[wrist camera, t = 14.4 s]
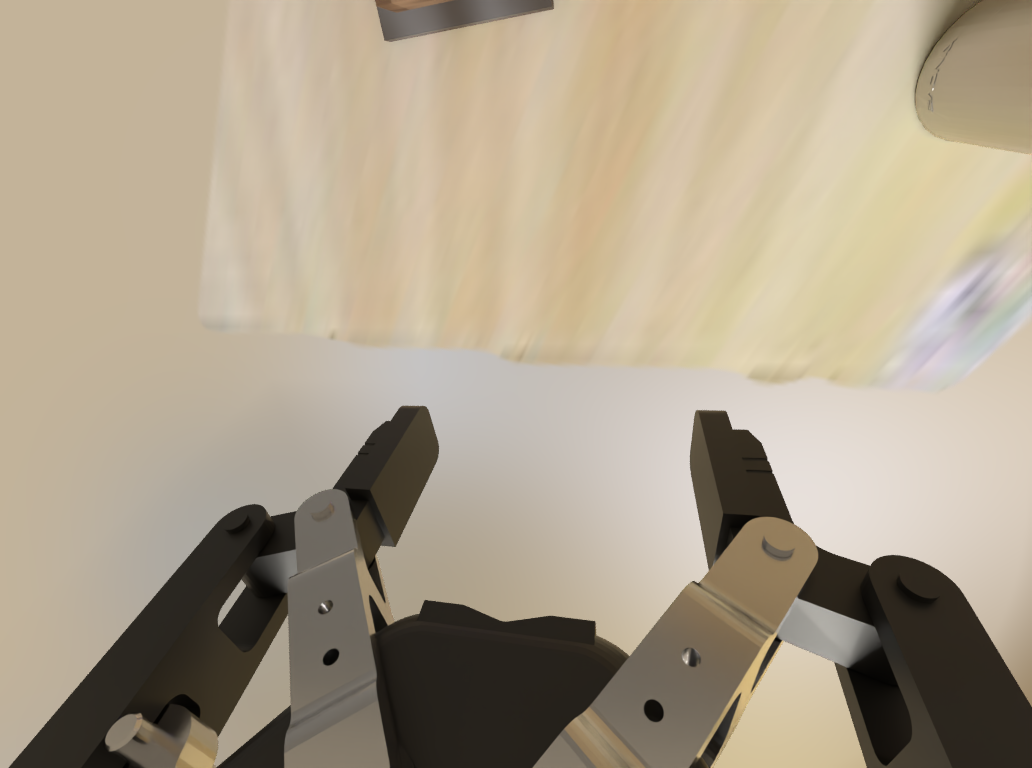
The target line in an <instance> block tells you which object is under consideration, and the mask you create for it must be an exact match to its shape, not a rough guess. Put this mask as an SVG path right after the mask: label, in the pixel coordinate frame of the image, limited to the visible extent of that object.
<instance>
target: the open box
mask: <svg viewBox="0 0 1032 768" xmlns="http://www.w3.org/2000/svg"><path fill="white" fill-rule="evenodd" d="M375 1H376V5H377V10H378V14H379V18H380V23H381V27H382V31H383V36H384V40H385V41H389V42H392V41H397V40H402V39H407V38H412V37H417V36H422V35H427V34H432V33H437V32H442V31H447V30H452V29H457V28H462V27H467V26H472V25H477V24H482V23H486V22H491V21H496V20H501V19H506V18H511V17H516V16H521V15H526V14H531V13H536V12H541V11H546V10H551V9H554V8H553V0H375Z"/></svg>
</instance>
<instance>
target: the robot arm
mask: <svg viewBox="0 0 1032 768" xmlns="http://www.w3.org/2000/svg"><path fill="white" fill-rule="evenodd" d="M915 98H916V111H917V114H918V117H919V120H920V122H921V123H922V124H923V126H924V127H925V129H926V130H928V131H929V132H930V133H932V134H933V135H934V136H936V137H939V138H942V139H945V140H948V141H954V142H960V143H966V144H972V145H978V146H982V147H988V148H994V149H1000V150H1006V151H1012V152H1018V153H1024V154H1030V155H1032V0H982V1H981V2H979V3H978V4H977V5H975V6H974V7H973V8H971V9H970V10H969V11H967V12H966V13H964V14H963V15H962V16H961V17H960V18H959V19H958V20H957V21H956V22H955V23H954V24H953V25H952V26H951V27H950V28H949V29H948V30H947V31H946V33H945V34H944V35H943V36H942V38H941V39H940V40H939V41H938V42H937V44H936V45H935V47H934V48H933V50H932V52H931V53H930V55H929V57H928V58H927V60H926V62H925V64H924V66H923V69H922V71H921V74H920V76H919V79H918V84H917V89H916V93H915ZM438 454H439V445H438V440H437V437H436V434H435V430H434V427H433V424H432V420H431V417H430V414H429V411H428V409H427V407H425V406H401V407H400V408H399V409H398V411H397V412H396V414H395V415H394V417H393V418H392V420H391V421H386V422H385V423H384V424H382V425H381V426H380V427H378V428H377V429H376V430H374V431H373V432H372V434H371V435H370V436H369V438H368V439H367V441H366V442H365V445H363V446H362V448H361V449H360V451H359V452H358V455H356V457H355V458H354V459H353V461H352V462H351V463H350V465H349V466H348V468H347V469H346V470H345V472H344V473H343V475H342V476H341V477H340V479H339V480H338V482H337V483H336V484H335V486H334V487H333V489H329V490H325V491H321V492H319V493H317V494H315V495H313V496H311V497H310V498H308V499H307V500H306V501H305V502H303V504H302V505H301V506H300V507H299V508H298V510H297V511H295V512H290V513H285V514H281V515H276V516H271V517H270V516H269V514H268V512H267V511H266V510H265V508H264V507H263V506H261V505H256V504H252V505H246V506H243V507H240V508H238V509H236V510H234V511H232V512H230V513H228V514H227V515H226V516H224V517H223V518H222V519H221V520H220V521H219V522H218V523H217V524H216V525H215V526H214V527H213V528H212V530H211V531H210V532H209V533H208V534H207V535H206V537H205V538H204V539H203V540H202V541H201V543H200V544H199V545H198V546H197V547H196V548H195V549H194V551H193V552H192V553H191V554H190V556H188V558H187V559H186V560H185V561H184V562H183V564H182V565H181V566H180V567H179V568H178V569H177V571H176V572H175V573H174V574H173V575H172V576H171V578H170V579H169V580H168V581H167V582H166V584H165V585H164V586H163V587H162V588H161V589H160V591H159V592H158V593H157V594H156V595H155V596H154V598H153V599H152V600H151V601H150V602H149V603H148V605H147V606H146V607H145V608H144V609H143V611H142V612H141V613H140V614H139V615H138V616H137V618H136V619H135V620H134V621H133V622H132V623H131V625H130V626H129V627H128V628H127V629H126V631H125V632H124V633H123V634H122V635H121V636H120V638H119V639H118V640H117V641H116V642H115V643H114V645H113V646H112V647H111V648H110V650H108V652H107V653H106V654H105V655H104V656H103V657H102V659H101V660H100V661H99V662H98V663H97V665H96V666H95V667H94V668H93V669H92V670H91V672H90V673H89V674H88V675H87V676H86V678H85V679H84V680H83V681H82V682H81V683H80V684H79V686H78V687H77V688H76V689H75V690H74V692H73V693H72V694H71V695H70V696H69V697H68V699H67V700H66V701H65V702H64V703H63V704H62V706H61V707H60V708H59V709H58V710H57V712H56V713H55V714H54V715H53V716H52V717H51V719H50V720H49V721H48V722H47V723H46V724H45V726H44V727H43V728H42V729H41V730H40V732H39V733H38V734H37V735H36V736H35V737H34V738H33V740H32V741H31V742H30V743H29V744H28V746H27V747H26V748H25V749H24V750H23V751H22V753H21V754H20V755H19V756H18V757H17V758H16V760H15V761H14V762H13V763H12V764H11V766H10V767H9V768H713V767H714V765H715V763H716V762H717V760H718V758H719V756H720V755H721V753H722V751H723V749H724V748H725V746H726V744H727V742H728V741H729V739H730V737H731V735H732V734H733V732H734V730H735V728H736V726H737V724H738V722H739V720H740V718H741V716H742V714H743V712H744V710H745V708H746V706H747V704H748V702H749V700H750V698H751V697H752V695H753V693H754V691H755V690H756V688H757V686H758V685H759V683H760V681H761V680H762V678H763V676H764V674H765V673H766V671H767V669H768V667H769V666H770V664H771V662H772V660H773V659H774V657H775V655H776V654H777V652H778V650H779V648H780V647H781V645H782V643H783V642H784V641H785V642H788V643H790V644H792V645H795V646H797V647H799V648H802V649H804V650H807V651H809V652H812V653H814V654H816V655H819V656H821V657H823V658H826V659H828V660H831V661H833V662H834V663H835V666H836V670H837V673H838V676H839V679H840V682H841V686H842V689H843V692H844V695H845V698H846V701H847V705H848V708H849V711H850V714H851V718H852V721H853V724H854V727H855V730H856V733H857V737H858V740H859V743H860V746H861V750H862V753H863V756H864V759H865V762H866V766H867V768H1032V707H1031V705H1030V703H1029V702H1028V700H1027V698H1026V697H1025V695H1024V694H1023V692H1022V690H1021V689H1020V687H1019V685H1018V684H1017V682H1016V680H1015V679H1014V677H1013V675H1012V674H1011V672H1010V670H1009V669H1008V667H1007V666H1006V664H1005V662H1004V660H1003V659H1002V657H1001V655H1000V654H999V652H998V651H997V649H996V647H995V646H994V644H993V642H992V641H991V639H990V637H989V636H988V634H987V632H986V631H985V629H984V627H983V626H982V624H981V622H980V621H979V619H978V617H977V616H976V614H975V612H974V611H973V609H972V607H971V606H970V604H969V602H968V601H967V599H966V598H965V596H964V594H963V593H962V592H961V590H960V589H959V588H958V586H957V585H956V584H955V583H954V582H953V581H952V580H950V579H949V578H948V577H947V576H946V575H944V574H943V573H941V572H940V571H939V570H937V569H935V568H933V567H932V566H930V565H928V564H926V563H924V562H921V561H919V560H916V559H913V558H909V557H905V556H898V555H888V556H883V557H880V558H878V559H876V560H875V561H874V562H873V563H872V564H871V566H869V565H866V564H863V563H860V562H856V561H853V560H850V559H847V558H844V557H841V556H838V555H835V554H832V553H829V552H827V551H825V550H823V549H821V548H819V547H818V546H816V545H815V543H814V542H813V540H812V539H811V538H810V536H809V535H808V534H807V533H806V532H804V531H803V530H802V529H801V528H799V527H797V526H796V525H794V523H793V521H792V519H791V516H790V514H789V511H788V509H787V506H786V504H785V501H784V499H783V496H782V494H781V491H780V489H779V486H778V484H777V481H776V479H775V476H774V474H772V469H771V466H770V463H769V462H768V461H767V456H766V453H765V451H764V449H763V446H762V443H761V442H760V441H759V440H757V439H756V438H755V437H754V436H753V435H752V434H751V433H750V432H749V431H748V430H732V427H731V424H730V421H729V417H728V415H727V412H726V411H709V410H708V411H707V410H703V411H702V410H697V411H696V412H695V417H694V425H693V433H692V442H691V450H690V470H691V477H692V482H693V487H694V493H695V498H696V504H697V509H698V514H699V520H700V525H701V530H702V535H703V541H704V547H705V552H706V557H707V563H708V568H709V572H708V573H707V574H706V575H705V577H704V578H703V579H702V580H701V581H700V582H699V583H696V582H695V581H692V582H691V583H690V584H688V585H687V586H686V587H685V588H684V589H683V590H682V592H681V593H680V594H679V595H678V597H677V598H676V599H675V600H674V602H673V603H672V604H671V605H670V607H669V608H668V609H667V611H666V612H665V613H664V614H663V615H662V617H661V618H660V619H659V620H658V622H657V623H656V624H655V625H654V627H653V628H652V629H651V630H650V632H649V633H648V634H647V635H646V637H645V638H644V639H643V640H642V642H641V643H640V644H639V645H638V647H637V648H636V649H635V650H634V652H633V653H632V654H631V655H630V656H629V655H628V654H627V653H625V652H624V651H623V650H621V649H620V648H619V647H617V646H616V645H614V644H612V643H611V642H609V641H607V640H605V639H603V638H601V637H598V636H596V626H595V625H596V624H595V621H588V620H580V619H571V618H564V617H556V616H546V617H538V618H531V619H524V620H516V621H509V622H503V621H499V620H497V619H495V618H492V617H490V616H488V615H486V614H483V613H481V612H479V611H476V610H474V609H472V608H470V607H467V606H465V605H459V604H451V603H443V602H436V601H428V600H425V601H424V603H423V606H422V609H421V611H420V614H416V615H412V616H409V617H405V618H403V619H400V620H399V621H396V622H395V621H394V618H393V615H392V612H391V608H390V604H389V600H388V596H387V592H386V588H385V584H384V580H383V576H382V572H381V568H380V564H379V560H378V557H377V555H376V553H377V551H378V550H379V548H380V546H381V545H382V546H392V547H396V545H397V543H398V541H399V538H400V537H401V534H402V532H403V530H404V528H405V526H406V524H407V522H408V520H409V518H410V516H411V514H412V512H413V509H414V507H415V505H416V503H417V501H418V499H419V497H420V495H421V493H422V491H423V489H424V487H425V485H426V483H427V481H428V479H429V476H430V474H431V472H432V470H433V468H434V466H435V464H436V462H437V459H438ZM241 579H242V581H243V582H244V583H245V584H246V588H245V589H244V590H243V592H242V593H241V595H240V596H239V598H238V599H237V601H236V602H235V603H234V605H233V606H232V608H231V609H230V611H229V612H228V614H227V615H226V617H225V618H224V620H223V621H222V622H221V624H220V625H219V627H218V615H219V612H220V609H221V608H222V606H223V605H224V603H225V602H226V600H227V599H228V597H229V596H230V595H231V593H232V592H233V590H234V589H235V587H236V586H237V585H238V583H239V582H240V580H241ZM287 615H288V624H289V659H290V696H291V705H290V706H289V707H288V708H287V709H285V710H284V711H283V712H282V713H281V714H279V715H278V716H277V717H276V718H275V719H274V720H272V721H271V722H270V723H269V724H268V725H267V726H265V727H264V728H263V729H262V730H261V731H259V732H258V733H257V734H256V735H255V736H253V737H252V738H251V739H250V740H249V741H248V742H246V743H245V744H244V745H243V746H241V747H240V748H239V749H238V750H237V751H236V752H234V753H233V754H232V755H231V756H230V757H228V758H227V759H226V760H225V761H224V762H223V763H222V764H220V765H219V766H218V767H215V765H214V762H215V759H216V756H217V751H218V736H219V734H220V733H221V731H222V729H223V727H224V726H225V724H226V722H227V720H228V719H229V717H230V715H231V713H232V712H233V710H234V708H235V706H236V705H237V703H238V701H239V699H240V698H241V696H242V694H243V692H244V690H245V689H246V687H247V685H248V683H249V682H250V680H251V678H252V676H253V675H254V673H255V671H256V669H257V668H258V666H259V664H260V662H261V661H262V659H263V657H264V655H265V654H266V652H267V650H268V648H269V646H270V645H271V643H272V641H273V639H274V638H275V636H276V634H277V632H278V631H279V629H280V627H281V625H282V624H283V622H284V620H285V618H286V617H287Z"/></svg>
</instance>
